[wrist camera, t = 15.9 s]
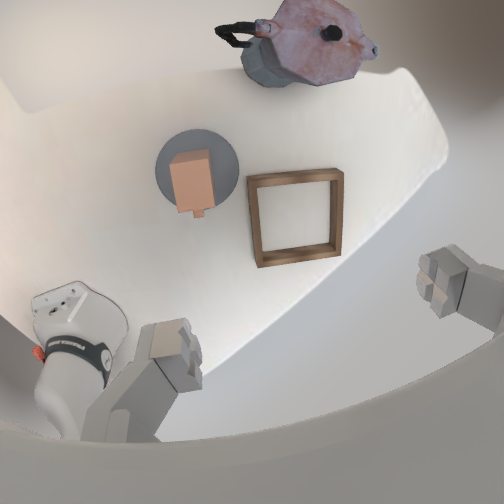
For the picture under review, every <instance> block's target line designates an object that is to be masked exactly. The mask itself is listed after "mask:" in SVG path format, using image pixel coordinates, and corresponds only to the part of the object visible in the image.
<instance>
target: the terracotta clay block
mask: <svg viewBox="0 0 504 504" xmlns="http://www.w3.org/2000/svg"><path fill="white" fill-rule="evenodd" d="M169 166H170V172H171V178H172V183H173V188H174V194H175V199H176V204H177V209H178V213H180V212H187V211H193V214H194V218H199V217H204V209H207V208H214V207H215V186H214V179H213V172H212V165H211V157H210V150H209V148H208V149H201V150H195V151H188V152H182V153H177V155H176V156H175V158H174V159H173V160H172V162H171V163H170V165H169Z"/></svg>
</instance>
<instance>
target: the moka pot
mask: <svg viewBox="0 0 504 504" xmlns="http://www.w3.org/2000/svg"><path fill="white" fill-rule="evenodd" d="M231 32H232V33H245V34H251V35H254V37H253V38H251V39H249V40H248V41H238V40H237V39H236V37H235V36H234V35H233V34H232V33H231ZM215 33H216V34H217V35H218V36H219V37H221V38H222V39H224V40H226V41H227V42H228V43H229V44H230V45H231V46H232V47H236V48H244V50H243V52H242V55H241V61H242V64H243V67H244V69H245V71H246V73H247V75H248V76H249V77H250V78H251V79H253V80H254V81H256V82H257V83H258V84H260V85H262V86H263V87H285V86H287V85H288V84H290V83H292V82H293V81H295V82H300V83H305V84H309V85H313V86H317V87H318V86H322V85H326V84H330V83H334V82H339V81H343V80H348V79H352V78H354V76H355V75H356V73H357V71H358V69H359V67H360V65H361V63H362V62H363V61H364V60H374V59H378V58H379V56H380V55H379V54H380V53H379V52H380V51H379V47H378V45H377V44H375V43H374V42H373V41H371V40H370V39H368V38H367V37H366V36H365V35H364V33H363V31H362V28H361V24H360V22H359V20H358V17H357V15H356V14H355V13H353V12H352V11H351V10H349V9H348V8H346V7H344V6H343V5H341V4H340V3H338V2H336V1H335V0H284V1H283V3H282V4H281V6H280V8H279V10H278V11H277V13H276V14H275V16H274V18H273V19H272V20H266V19H257V20H255V22H254V23H253V22H237V23H235V24H229V25H222V26H218V27H216V28H215Z"/></svg>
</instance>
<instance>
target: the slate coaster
mask: <svg viewBox="0 0 504 504" xmlns="http://www.w3.org/2000/svg"><path fill="white" fill-rule="evenodd" d="M208 148H209V150H210V157H211V165H212V172H213V179H214V186H215V206H217V205H219V204H220V203H222V202H223V201H224V200H225V199H226V198H227V197H228V196H229V195H230V194H231V193H232V191H233V189H234V188H235V186H236V183H237V180H238V175H239V164H238V159H237V156H236V154H235V152H234V150H233V148H232V147H231V145H230V144H229V143H228V142H227V141H226V140H225V139H224V138H223V137H221V136H220V135H218V134H216V133H214V132H211V131H208V130H201V129H195V130H188V131H185V132H182V133H180V134H178V135H176V136H174V137H173V138H172V139H170V140H169V141H168V142H167V143H166V144H165V146H164V147H163V148H162V150H161V151H160V153H159V156H158V158H157V162H156V167H155V174H156V180H157V183H158V186H159V188H160V190H161V192H162V193H163V194H164V196H165V197H166V198H167V199H168V200H169V201H170V202H172V203H173V204H175V205H176V206H177V204H176V199H175V194H174V188H173V183H172V178H171V172H170V166H169V165H170V163H171V162H172V160H173V159H174V158H175V156H176V155H177V153H182V152H188V151H195V150H201V149H208ZM207 209H209V208H207ZM204 210H206V209H204Z"/></svg>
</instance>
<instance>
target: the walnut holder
mask: <svg viewBox="0 0 504 504" xmlns="http://www.w3.org/2000/svg"><path fill="white" fill-rule="evenodd" d="M246 177H247V186H248V196H249V206H250V215H251V225H252V235H253V244H254V254H255V261H256V265H257V268H262V267H269V266H276V265H283V264H289V263H296V262H303V261H309V260H316V259H322V258H329V257H335V256H341V247H342V228H343V200H344V173H343V172H342V171H340V170H339V169H337V168H331V169H317V170H304V171H293V172H282V173H273V174H263V175H255V176H246ZM329 180H330V243H325V244H318V245H311V246H304V247H297V248H290V249H282V250H275V251H268V252H262V242H261V231H260V219H259V208H258V197H257V188H259V187H267V186H276V185H286V184H295V183H306V182H317V181H329Z"/></svg>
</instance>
